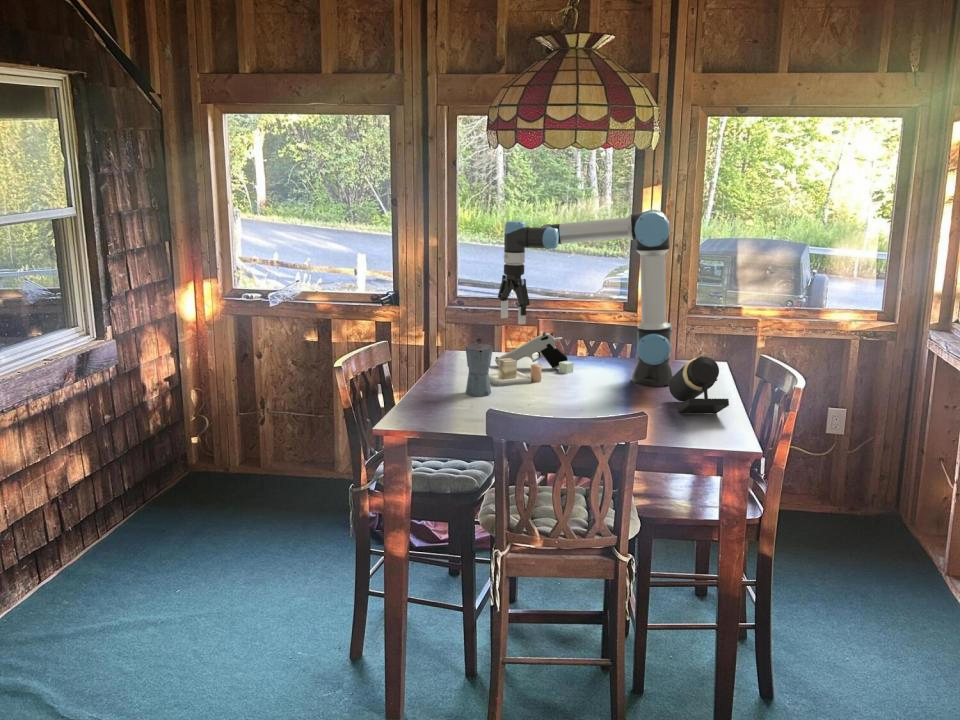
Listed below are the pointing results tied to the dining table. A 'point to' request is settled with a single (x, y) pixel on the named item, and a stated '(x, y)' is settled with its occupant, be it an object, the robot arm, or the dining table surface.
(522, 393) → the dining table surface
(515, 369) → the birch block
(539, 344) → the handgun
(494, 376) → the tray
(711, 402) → the light fixture
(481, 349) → the moka pot
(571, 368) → the sage block
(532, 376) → the peach capsule
